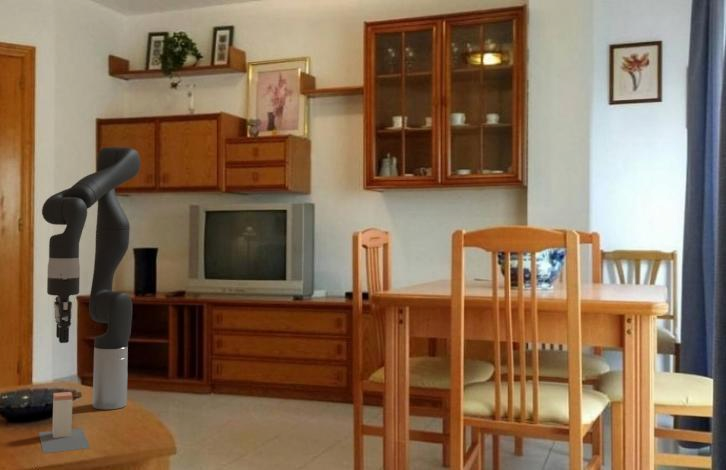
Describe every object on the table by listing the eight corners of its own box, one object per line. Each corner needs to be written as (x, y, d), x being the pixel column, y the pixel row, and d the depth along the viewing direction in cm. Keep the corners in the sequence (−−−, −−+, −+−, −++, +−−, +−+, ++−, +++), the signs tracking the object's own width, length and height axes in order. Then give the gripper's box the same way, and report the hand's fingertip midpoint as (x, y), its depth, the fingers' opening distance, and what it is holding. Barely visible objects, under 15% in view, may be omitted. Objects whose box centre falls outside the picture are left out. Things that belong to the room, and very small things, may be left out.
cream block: (52, 433, 174) (53, 393, 174) (69, 431, 176) (70, 391, 176) (53, 438, 170) (54, 396, 170) (71, 436, 172) (72, 395, 172)
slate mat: (38, 434, 175) (38, 432, 175) (81, 430, 179) (81, 428, 179) (43, 455, 159) (43, 453, 159) (90, 450, 163) (90, 448, 163)
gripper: (45, 273, 184) (44, 336, 184) (49, 278, 171) (48, 345, 171) (76, 273, 187) (75, 335, 187) (82, 277, 174) (81, 343, 175)
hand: (62, 340), depth 179 cm, fingers open, 7 cm apart
